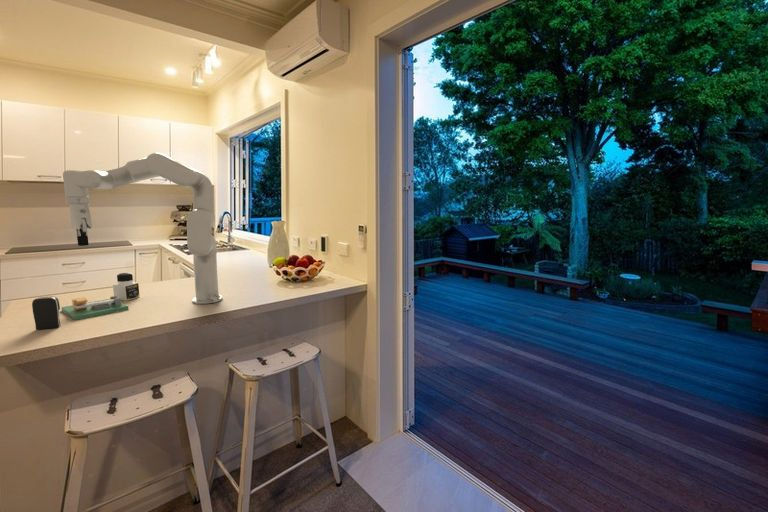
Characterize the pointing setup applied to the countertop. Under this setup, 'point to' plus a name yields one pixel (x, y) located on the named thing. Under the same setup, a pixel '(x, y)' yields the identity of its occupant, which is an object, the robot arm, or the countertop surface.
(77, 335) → the countertop surface
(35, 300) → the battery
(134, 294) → the medicine bottle
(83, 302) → the tan wooden block
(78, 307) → the grey flat bar
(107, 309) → the board
